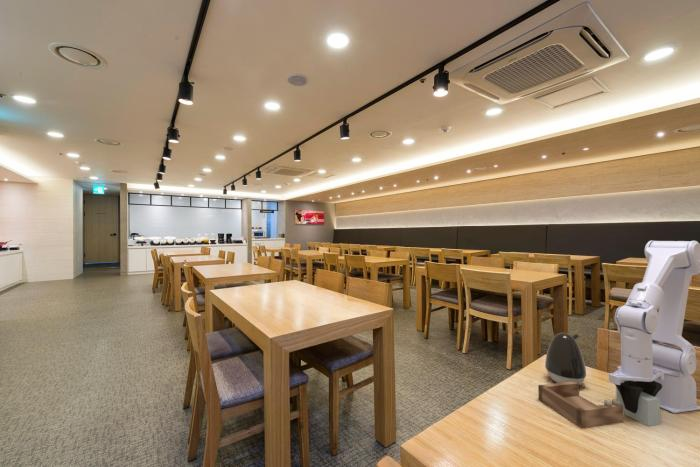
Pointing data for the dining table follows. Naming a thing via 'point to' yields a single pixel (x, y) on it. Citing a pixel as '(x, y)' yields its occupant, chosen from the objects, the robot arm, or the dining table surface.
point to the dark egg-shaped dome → (565, 359)
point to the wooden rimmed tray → (579, 405)
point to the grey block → (644, 409)
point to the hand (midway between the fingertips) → (637, 410)
